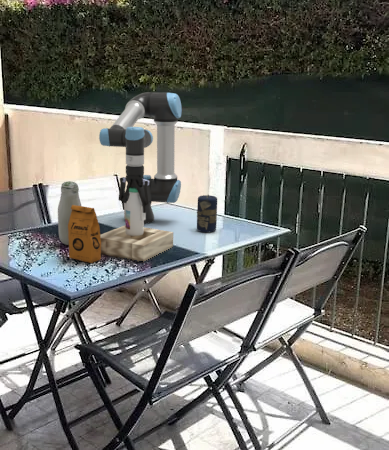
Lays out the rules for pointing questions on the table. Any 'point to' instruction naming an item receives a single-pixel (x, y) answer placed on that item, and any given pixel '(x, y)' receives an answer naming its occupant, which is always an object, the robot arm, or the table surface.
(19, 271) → the table surface
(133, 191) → the milk bottle
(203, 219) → the canister
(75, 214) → the coffee package
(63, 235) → the glass bottle
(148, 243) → the well block
